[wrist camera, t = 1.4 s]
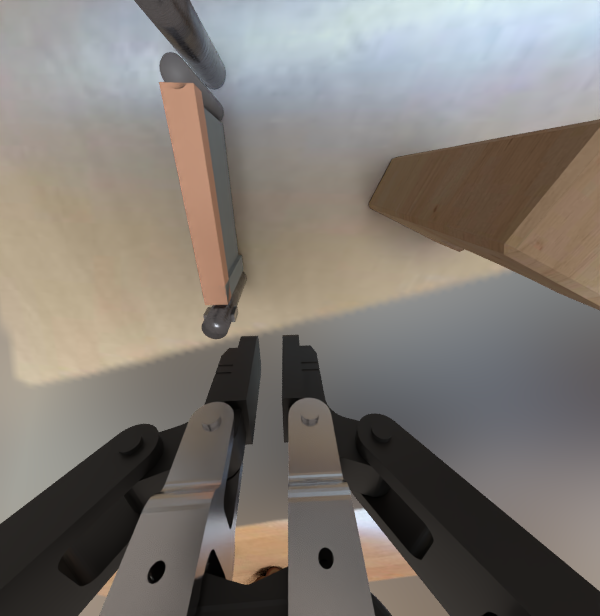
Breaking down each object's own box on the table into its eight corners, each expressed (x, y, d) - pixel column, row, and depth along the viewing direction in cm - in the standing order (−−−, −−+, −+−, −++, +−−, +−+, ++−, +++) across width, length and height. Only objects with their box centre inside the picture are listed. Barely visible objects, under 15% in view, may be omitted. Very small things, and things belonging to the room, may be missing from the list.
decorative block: (469, 200, 28) (768, 237, 11) (437, 244, 31) (642, 333, 13) (394, 153, 26) (632, 100, 8) (365, 205, 28) (503, 252, 10)
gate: (202, 99, 22) (152, 51, 14) (224, 99, 22) (188, 52, 14) (227, 269, 30) (205, 305, 21) (243, 269, 30) (228, 304, 21)
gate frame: (193, 52, 21) (103, -73, 11) (225, 53, 21) (168, -69, 11) (228, 285, 32) (200, 339, 21) (249, 285, 32) (232, 338, 21)
